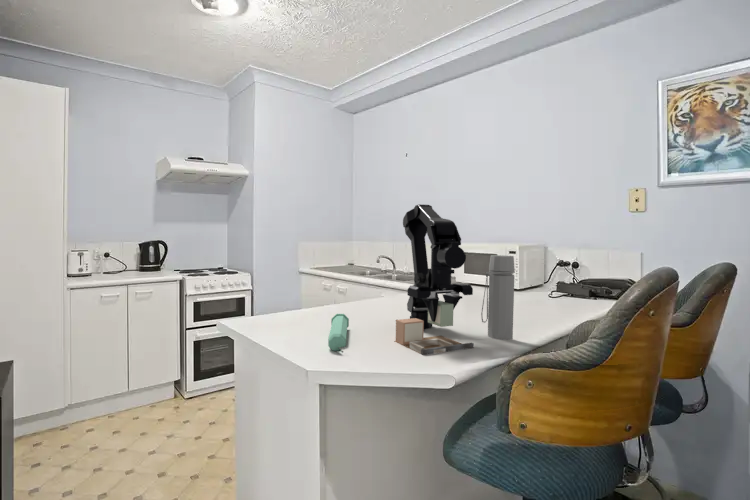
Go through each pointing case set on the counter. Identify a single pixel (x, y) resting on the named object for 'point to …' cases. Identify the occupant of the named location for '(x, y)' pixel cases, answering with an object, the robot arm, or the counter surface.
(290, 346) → the counter surface
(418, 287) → the robot arm
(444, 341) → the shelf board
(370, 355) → the counter surface
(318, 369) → the counter surface
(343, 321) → the container
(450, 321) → the tea box
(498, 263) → the water bottle
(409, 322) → the rust box
